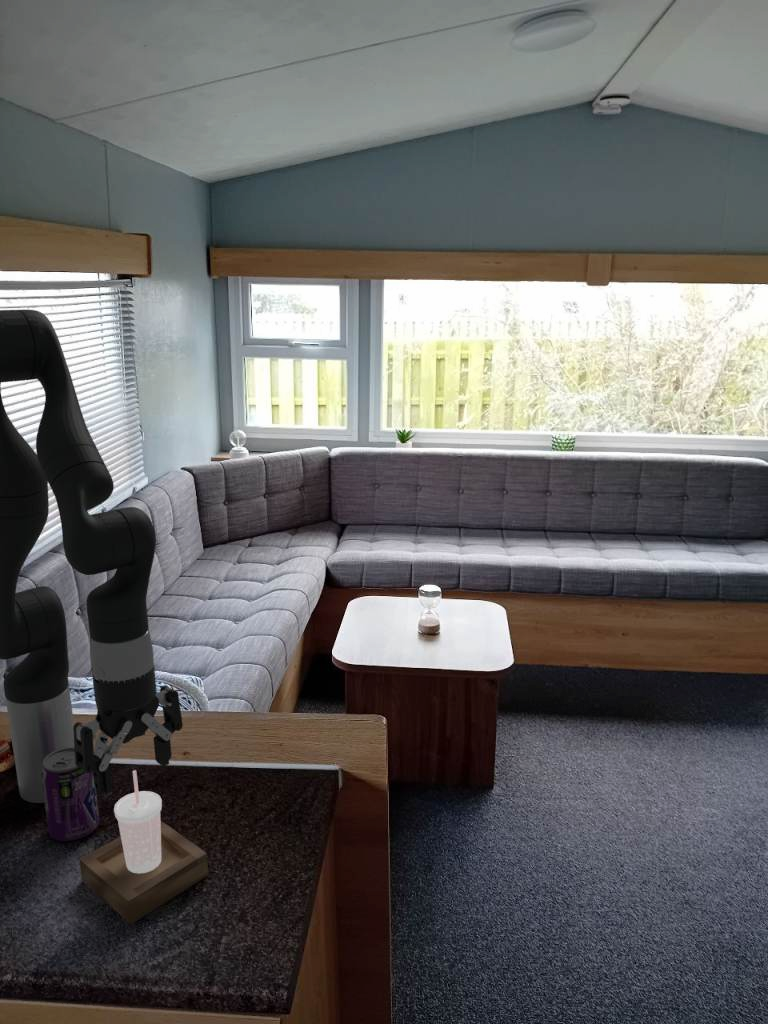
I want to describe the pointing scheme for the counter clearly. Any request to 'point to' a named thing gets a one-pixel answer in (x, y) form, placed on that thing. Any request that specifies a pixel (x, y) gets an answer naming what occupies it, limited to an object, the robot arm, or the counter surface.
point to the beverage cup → (140, 828)
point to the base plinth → (143, 875)
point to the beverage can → (68, 796)
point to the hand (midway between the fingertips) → (134, 777)
